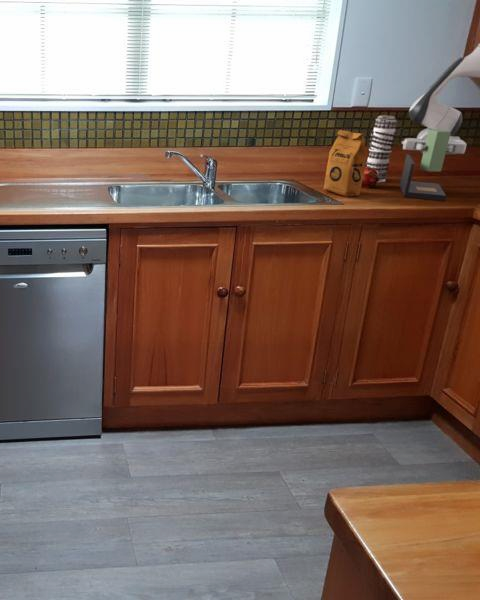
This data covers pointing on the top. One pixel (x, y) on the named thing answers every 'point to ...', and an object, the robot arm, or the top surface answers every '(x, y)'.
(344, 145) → the coffee package
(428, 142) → the carton
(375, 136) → the decorative candle
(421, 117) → the robot arm
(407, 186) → the grey l-shaped bracket
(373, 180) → the dragon fruit
